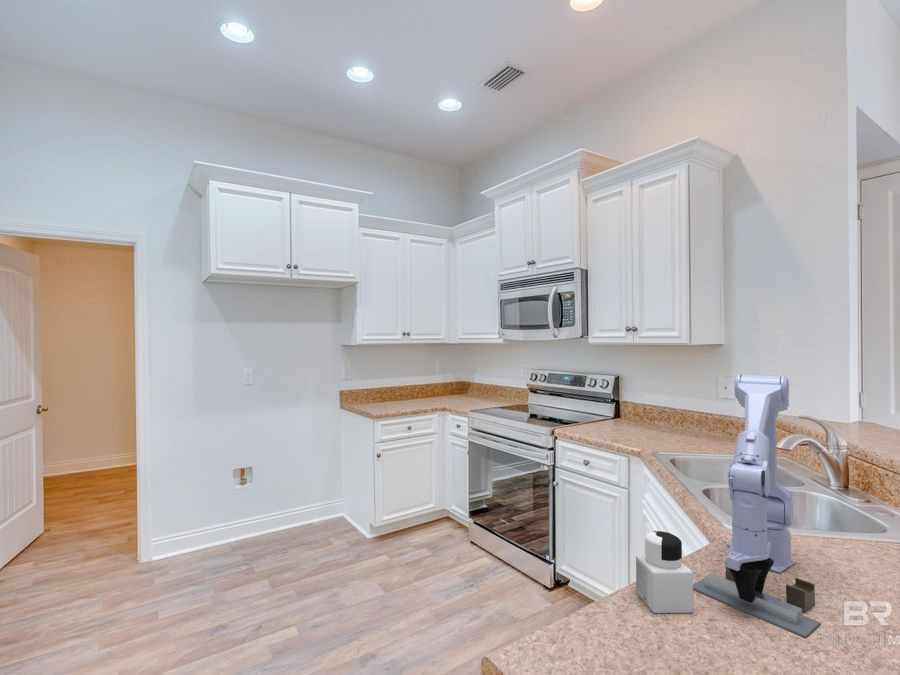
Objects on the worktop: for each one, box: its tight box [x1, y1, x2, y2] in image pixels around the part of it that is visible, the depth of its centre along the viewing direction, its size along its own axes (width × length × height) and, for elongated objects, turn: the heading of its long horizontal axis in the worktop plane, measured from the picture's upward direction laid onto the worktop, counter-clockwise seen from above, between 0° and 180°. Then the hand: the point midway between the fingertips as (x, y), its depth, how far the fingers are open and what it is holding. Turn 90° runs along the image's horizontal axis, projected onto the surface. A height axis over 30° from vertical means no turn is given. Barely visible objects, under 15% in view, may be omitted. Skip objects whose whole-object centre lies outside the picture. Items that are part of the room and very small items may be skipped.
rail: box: [703, 572, 803, 626], centre depth 89 cm, size 2×16×2 cm, turn 34°
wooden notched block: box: [725, 566, 735, 582], centre depth 98 cm, size 5×3×4 cm, turn 124°
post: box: [785, 577, 816, 614], centre depth 89 cm, size 5×3×4 cm, turn 124°
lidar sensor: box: [635, 530, 694, 614], centre depth 90 cm, size 8×8×13 cm
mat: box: [693, 578, 822, 639], centre depth 89 cm, size 7×20×1 cm, turn 34°
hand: (750, 597), depth 89 cm, fingers open, 3 cm apart
